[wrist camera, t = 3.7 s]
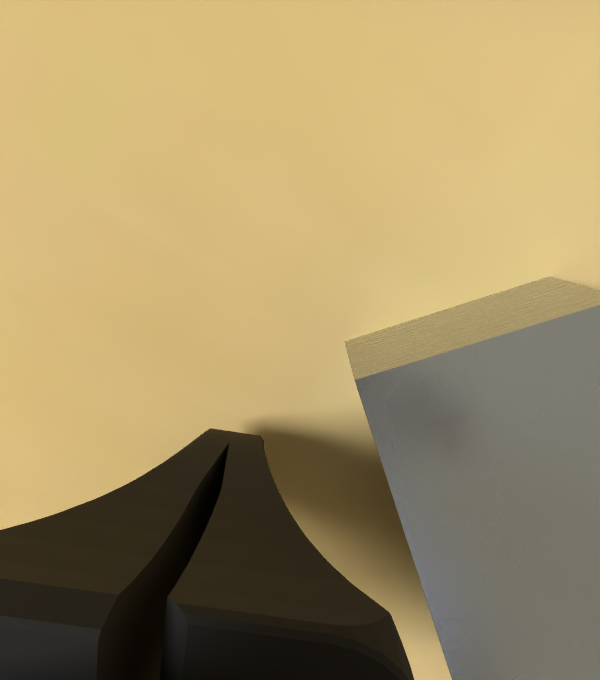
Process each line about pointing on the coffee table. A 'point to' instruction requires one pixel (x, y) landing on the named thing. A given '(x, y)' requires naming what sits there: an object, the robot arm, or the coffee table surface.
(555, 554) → the plate block
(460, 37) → the coffee table surface
